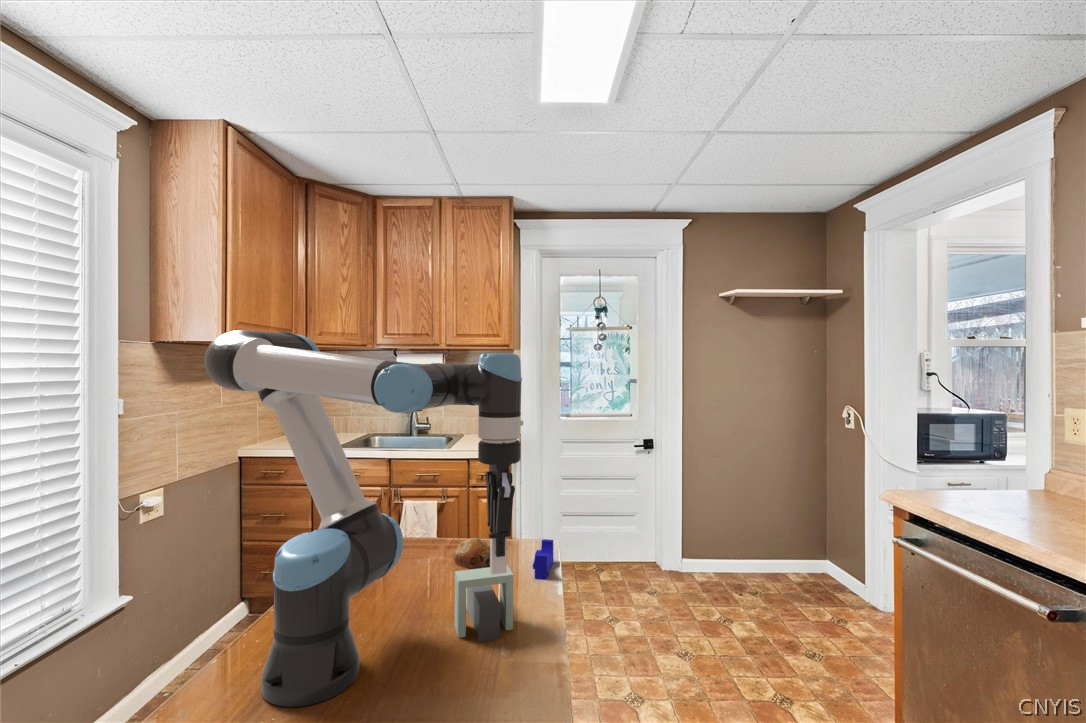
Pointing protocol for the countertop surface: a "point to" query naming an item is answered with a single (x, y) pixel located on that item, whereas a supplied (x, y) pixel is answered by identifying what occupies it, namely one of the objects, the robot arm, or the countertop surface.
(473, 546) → the bread roll
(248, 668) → the countertop surface
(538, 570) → the blue cradle block
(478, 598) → the grey rectangular block
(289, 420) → the robot arm
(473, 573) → the pale green arch
